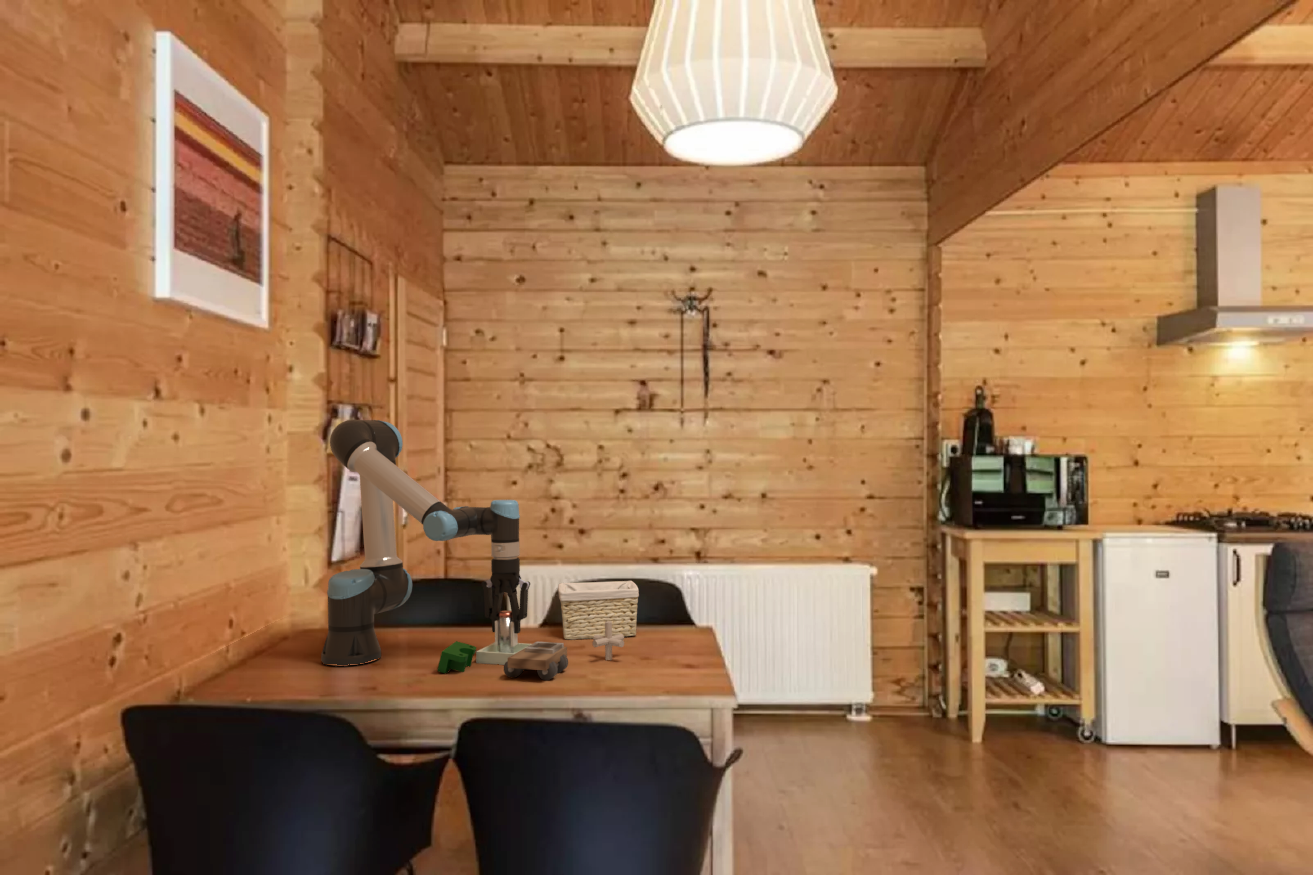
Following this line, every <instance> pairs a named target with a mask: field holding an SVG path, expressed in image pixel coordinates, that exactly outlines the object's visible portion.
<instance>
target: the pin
mask: <svg viewBox="0 0 1313 875" xmlns="http://www.w3.org/2000/svg"><path fill="white" fill-rule="evenodd" d="M498 620H499V652H502V653H514V647H511V626H510V622H512V620H513V616H512V611H511V610H500V612H498Z"/></svg>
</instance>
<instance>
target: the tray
mask: <svg viewBox="0 0 1313 875" xmlns="http://www.w3.org/2000/svg"><path fill="white" fill-rule="evenodd" d="M532 644H533V643H523V642H521V643H520V642H518V644H517V645H515V646H514V653H502V652H499V645H498V646H495V641H494V642H492V643H490V644H488V645H487V646H484V647H483V648H480V649H479V650H476V652H475V655H476V656H475V657H476V658H475V662H476V664H482V665H483V664H487V665H497V664H499V665H501V666H504V664H505V663H506V662H507V661H508V657H510V656H512V655H514V654H515V653H517V652H519V651H521V650H523V649H524V648H526V647H528V646H530V645H532Z"/></svg>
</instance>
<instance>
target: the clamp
mask: <svg viewBox="0 0 1313 875" xmlns="http://www.w3.org/2000/svg"><path fill="white" fill-rule="evenodd" d="M476 651H477V646H475V645H471V644H468V643H465V642H461V641H457V640H456V641H454V642H453V643H451V644H450V645H448V647H446V648H444V649H443V650H442V651H441V652H440V658H439V662H438V665H437V666H438V667H437V672H438V673H443V674H445V673H446V674H447V673H449V672H450V671H451V670H453V671H457V672H460V673H464V672H465V671H466V667H468V666H469V667H468V668H470V667H471V666H472V661H473V658H474V655H476ZM450 669H451V670H450ZM449 670H450V671H449ZM448 671H449V672H448Z"/></svg>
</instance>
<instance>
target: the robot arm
mask: <svg viewBox="0 0 1313 875" xmlns="http://www.w3.org/2000/svg"><path fill="white" fill-rule="evenodd" d="M403 446H404V444H403V437H402V435H401V432H400V431H399V429H398V428H397V427H396V426H395V425H394V424H392V423H390V422H389V421H383V420H379V419H373V420H372V419H367V420H365V419H364V420H363V419H348V420H345V421H342V422H340V423H338V425H336V426H335V427H334V429H333V430H332V432H331V434H330V438H329V447H330V451H331V452H332V455H333V456H334V457H335V459H336V460H337V461H338V462H340V464H341V465H343V467H345V468H346V469H347V470H349V472H352V473H357V474H358V476H359V484H360V485H359V487H360V502H361V514H362V515H361V518H362V531H363V532H362V533H363V545H364V560H363V561H362V563H361V564H359V568H356V569H355V568H354V569H350V570H344V571H340V572H338V573H335V574H333V575H332V576H331V577H330V578H329V580H328V583H327V584H328V585H327V591H326V593H327V624H328V625H327V626H328V628H327V635H326V639H325V642H324V645H323V648H322V651H321V654H320V655H321V656H320V658H321V660H320V661H322V662H323V663H324V664H337V665H348V664H349V665H350V664H360V663H365V662H368V661H371V660H374V659H378V658H380V657H381V658H382V649H381V646H380V642H379V640H378V637H377V634H376V631H375V615H376V614H379V613H380V614H381V613H383V612H387V611H389V612H390V611H392V610H395V609H397V608H399V607H401V606H403V605H404V604H405V603H406V602H407V601H408V600H409V598H410V597H411V594H412V591H413V580H412V575H411V574H410V573H408V570H407V569H405V568H404V562H403V560H402V559H401V558H399V557H398V554H397V542H396V541H397V540H396V528H395V527H396V526H395V525H396V524H395V513H394V510H395V509H394V503H395V504H397V505H398V506H399V507H401V508H402V509H403V510H404V511H405V512H407V513H408V514H409V515H410V516H412V517H413V518H415V520H416V521H417V522H418V523H420V524H421V525H422V527H423V531H424V534H425V536H426V537H427V538H428V539H430V540H432V541H434V542H444V541H449V540H453V539H457V538H463V537H468V536H474V535H475V536H477V535H478V536H479V535H480V536H490V543H491V544H490V546H491V547H490V549H491V550H490V551H491V552H490V553H491V557H492V559H491V560H490V561H491V562H490V564H491V565H490V566H491V567H490V568H491V576H490V578H489V579H485V580H483V581H482V582H481V587H482V590H483V599H484V600H483V602H484V604H483V605H484V617H485V618H486V619H490V620H491V629H492V630H491V631H492V633H494V642H495V646H498V645H499V620H498V612H500V611H502V609H501V608H502V603H503V597H504V594H505V593H506V594H507V597H508V600H509V604H510V609H511V610H510V611H512V616H513V620H512V622H510V626H511V647H514V646H515V645H517V644H518V643H519V642H518V641H519V640H518V638H519V636H518V634H520V633H521V621H522V620H524V619H526V618H527V617H528V604H529V603H528V601H529V600H528V599H529V589H530V586H531V582H530V581H525V580H523V579H522V577H521V575H520V571H521V564H520V563H521V561H520V558H519V557H520V555H521V554H520V553H521V548H520V518H521V516H520V507H519V506H520V505H519V502H518V501H517V500H515V499H494V500H492V501H491V502H490V506H489V507H488V506H487V507H483V506H481V507H479V506H466V505H465V506H456V507H454V508H453V509H451V508H450V507H448V505H446V504H444V503H443V502H442V501H441V500H439V499H438V498H437V497H436V496H435V495H433V494H432V493H431V492H429V491H428V490H427V489H426V488H425V487H423V486H422V485H421V484H420V483H418V482H417V481H416V479H413V478H412V477H411V476H409V475H408V474H407V473H406V472H405V471H403V470H402V469H401V468H400V467H399V466H398V465H397V458H398V457H399V455H400V453H401V452H402V450H403ZM492 586H493V587H494V589H495V590H494V599H493V588H492ZM518 587H519V588H520V591H519V600H518V591H517V588H518ZM381 658H380V659H381ZM324 664H323V665H324Z"/></svg>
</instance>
